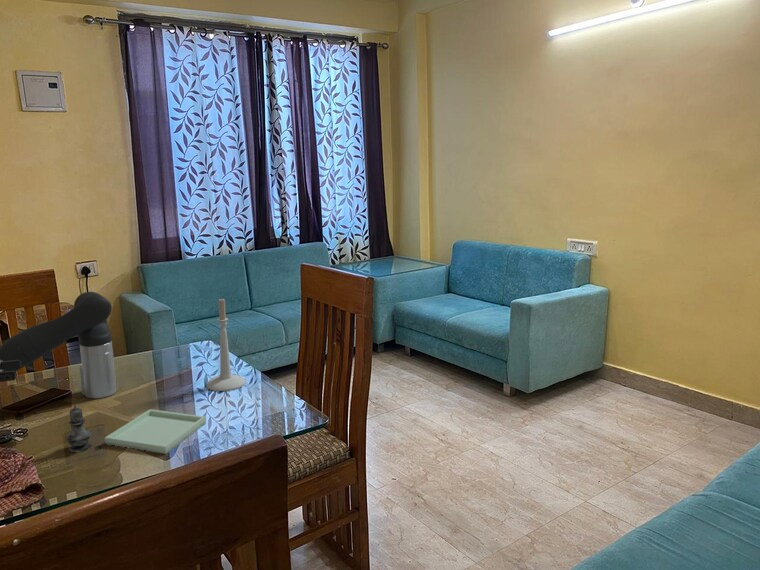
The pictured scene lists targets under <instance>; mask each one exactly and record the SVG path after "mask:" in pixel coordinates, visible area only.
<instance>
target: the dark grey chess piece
mask: <svg viewBox="0 0 760 570" xmlns="http://www.w3.org/2000/svg"><path fill="white" fill-rule="evenodd" d="M69 418H70V419H69V420H70V421H69V423H68V424H69V425H70V433H68V434H67V435H66V436H65V440H66V441H67V442H68V444H69V445H70V447H68V452H69V451H70V452H69V453H72V452H77V451H83V452H85V451H84V450H86V451H88V450H89V449H91V447H92V444H91V443H90V442H89V441H90V438H91V434H92V432H91V430H87V429H86V428H85V424H84V422H85V419H84V416H83V410H82V409H81V408H80V407H77V405H76V404H74V406H73V408H71V409H70V410H69ZM90 446H91V447H90ZM88 448H89V449H88ZM87 449H88V450H87Z"/></svg>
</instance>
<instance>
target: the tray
mask: <svg viewBox="0 0 760 570" xmlns="http://www.w3.org/2000/svg"><path fill="white" fill-rule="evenodd" d="M206 418H207V416H203V415H195V414H188V413H180V412H173V411H166V410H165V411H163V410H158V409H152V408H151V409H148V410H147V411H145V412H144V413H142V414H140V415H139V416H137V417H136V418H134V419H132V420H130V421H128V422H127V423H126V424H124V425H122V426H121V427H119V428H118V429H116V430H114V431H112V433H109V434H108V435H107V436H105V437H104V445H105V444H107V445H106V446H111V445H115V446H114V447H117V446H123V447H122V448H124V447H129V448H128V449H130V448H135V449H134V450H137V449H140V450H139V451H144V450H146V451H145V452H150V451H151V452H150V453H156V454H157V453H158V454H164V455H167V454H168V453H170V452H171V451H172V450H174V449H175V448H176V447H177V446H178V445H180V444H181V443H183V442H184V441H185V440H186V439H188V438H189V437H191V435H193V434H194V433H195V432H197V431H198V430H199V429H200V428H202V427H203V426H204V425H206V424H207V419H206Z"/></svg>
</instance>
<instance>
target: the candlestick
mask: <svg viewBox="0 0 760 570" xmlns="http://www.w3.org/2000/svg"><path fill="white" fill-rule="evenodd" d="M218 314H219V316H218V317H219V318H216V319H217V321H218V325H219V327H220V329H219V332H220V334H219V340H220V341H219V343H220V344H219V345H220V346H219V347H220V349H219V351H220V352H219V359H220V360H219V367H220V368H219V369H220V370H219V373H220V374H219V375H217V376H214V377H212V378H211V379H209V380H208V381H207V383H206V389H208V390H209V389H210V391H212V390H213V391H212V392H217V391H226V392H231V391H230V390H233V391H236V390H239V389H241V388H243V387H244V386H246V384H245V383H247V381H246V379H245V378H244V377H243V376H240V375H237V374H232V369H231V361H230V351H229V342H228V334H227V325H228V320H229V318H227V317H226V315H227V314H226V299H224V298H222V297H221V299H220V298H219V299H218ZM242 386H243V387H242ZM240 387H241V388H240ZM238 388H239V389H238ZM235 389H236V390H235Z"/></svg>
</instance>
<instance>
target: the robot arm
mask: <svg viewBox="0 0 760 570" xmlns="http://www.w3.org/2000/svg"><path fill="white" fill-rule="evenodd" d="M74 300H75V301H74V302H73V308H72V309H71V310H69V311H68V312H66V313H65V314H63V315H61V316H59V317H56V318H54V319H52V320H48V321H44V322H41V323H38V324H35V325H32V326H30V327H28V328H26V329H24V330H22V331H20V332H18V333H16V334H15V335H13V336H12V337H10V338H7V339H6V340H5V341H3V342H2V344H1V345H0V383H3V382H11V381H16V379H17V373H16V372H18V371H19V370H21V369H23V368H24V367H26V366H28V365H31V364H32V363H33V362H35V361H36V360H39V359H40V358H41V357H43V356H45V355H47V354H49V352H51V351H52V350H54V349H57V348H58V347H59V346H61V345H63V344H64V343H65V342H67V341H68V340H69V341H70V340H71V339H72V338H73V337H75V336H77V337H78V342H79V343H78V344H79V351H80V359H81V365H80V367H79V376H80V386H81V394H82V396H85V397H86V398H89V399H102V398H106V397H110V396H112V395H114V394H116V392H117V381H116V371H115V370H116V369H115V360H114V350H113V341H112V340H113V339H112V333H111V330H110V329H109V325H108V318H109V317H110V316H111V313H112V311H113V310H112V309H113V308H112V307H113V306H112V304H111V301H110V300H109V299H107V298H106V297H105V296H103V295H101V294H99V293H98V292H94V291H85V292H83V293H81V294H80V295H78V296H77V297H76V299H74Z"/></svg>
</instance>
